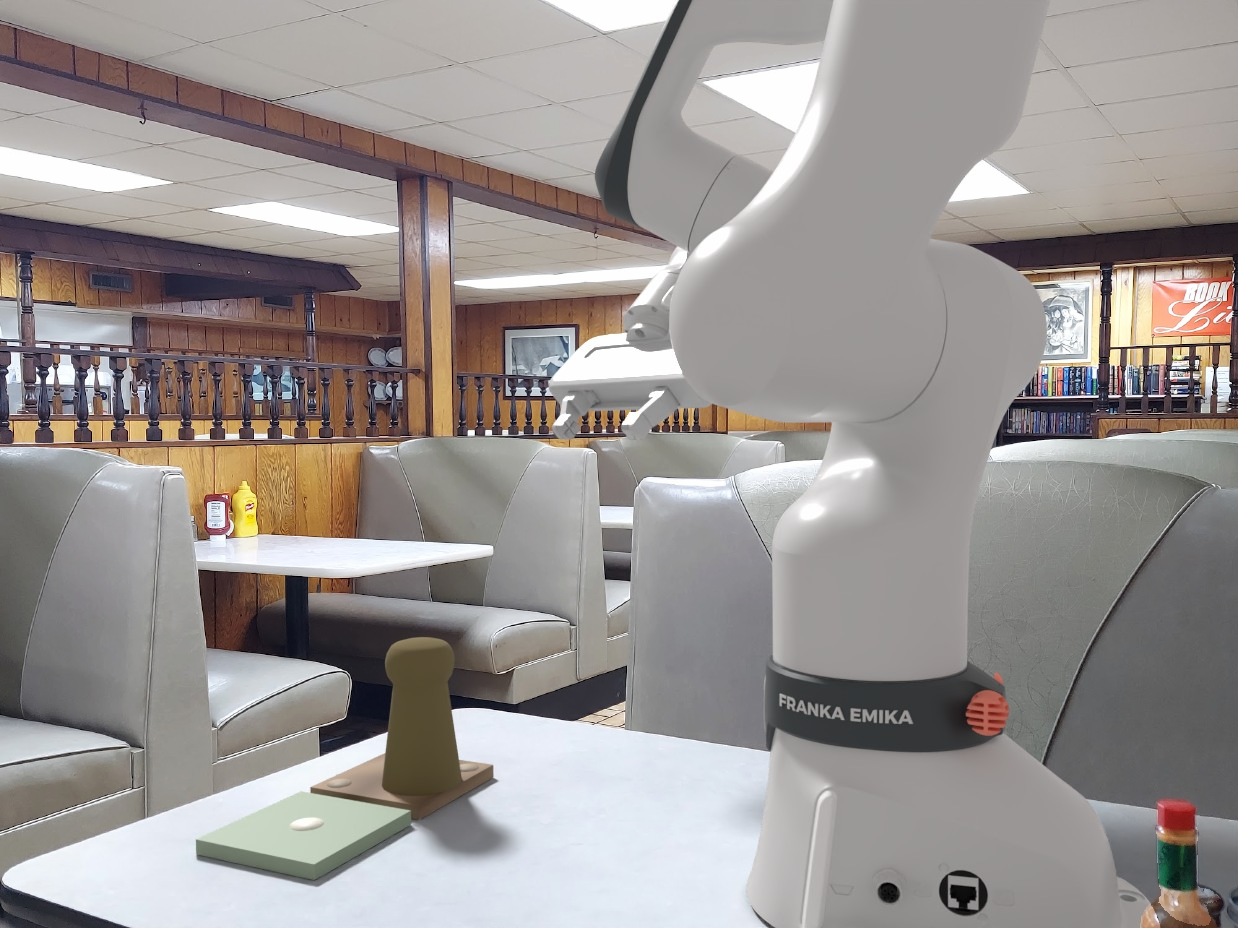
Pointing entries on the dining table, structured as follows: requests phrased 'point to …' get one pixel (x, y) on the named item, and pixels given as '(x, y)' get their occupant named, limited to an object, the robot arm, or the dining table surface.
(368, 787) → the tile two
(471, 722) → the dining table surface
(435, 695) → the cork
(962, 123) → the robot arm
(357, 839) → the tile one
